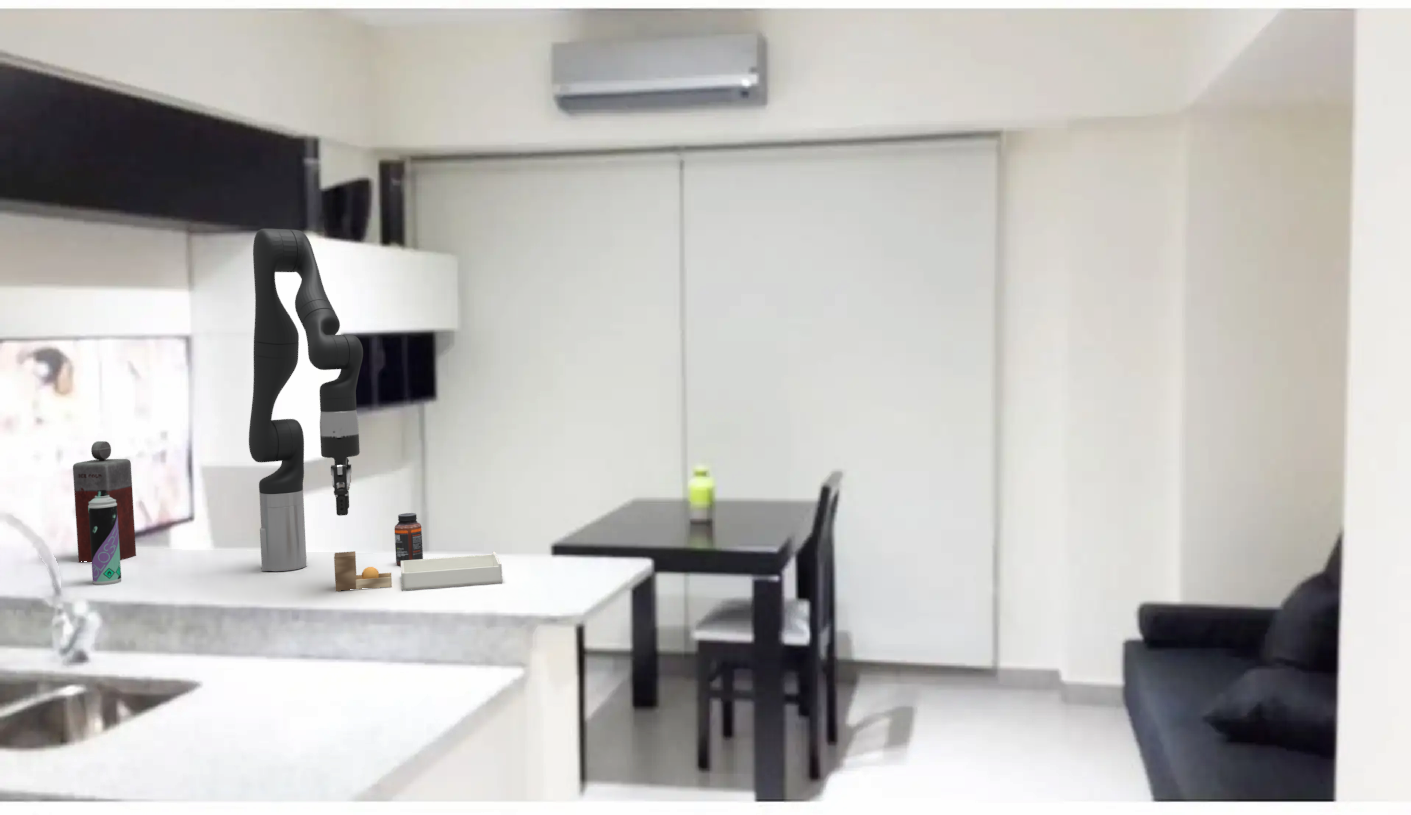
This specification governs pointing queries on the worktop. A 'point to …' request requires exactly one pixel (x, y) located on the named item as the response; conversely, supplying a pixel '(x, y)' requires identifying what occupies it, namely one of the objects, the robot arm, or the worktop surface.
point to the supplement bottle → (408, 538)
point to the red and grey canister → (118, 486)
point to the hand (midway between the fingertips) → (343, 512)
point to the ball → (370, 573)
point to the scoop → (348, 577)
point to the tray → (451, 572)
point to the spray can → (104, 539)
